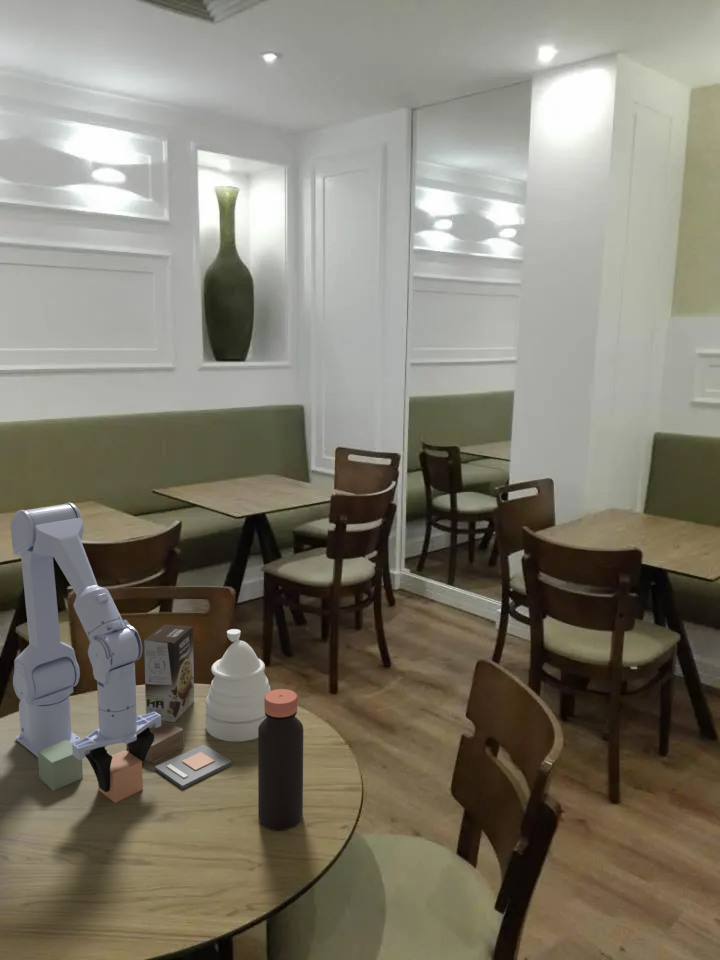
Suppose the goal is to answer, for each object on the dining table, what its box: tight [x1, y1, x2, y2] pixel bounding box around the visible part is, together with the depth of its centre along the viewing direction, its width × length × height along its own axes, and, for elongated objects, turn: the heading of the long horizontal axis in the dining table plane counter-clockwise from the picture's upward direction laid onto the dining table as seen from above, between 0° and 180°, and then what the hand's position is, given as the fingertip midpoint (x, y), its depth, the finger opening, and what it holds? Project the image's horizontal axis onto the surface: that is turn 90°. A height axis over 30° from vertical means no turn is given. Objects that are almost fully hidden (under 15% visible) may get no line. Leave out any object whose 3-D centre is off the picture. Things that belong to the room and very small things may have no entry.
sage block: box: [37, 740, 84, 791], centre depth 123 cm, size 5×5×5 cm
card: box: [154, 743, 232, 790], centre depth 128 cm, size 8×10×1 cm
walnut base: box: [126, 720, 185, 764], centre depth 133 cm, size 7×7×4 cm
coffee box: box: [143, 623, 195, 723], centre depth 146 cm, size 9×6×16 cm
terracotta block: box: [97, 749, 144, 804], centre depth 120 cm, size 5×5×5 cm
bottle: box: [257, 688, 304, 831], centre depth 113 cm, size 7×7×20 cm
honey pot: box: [204, 628, 272, 742], centre depth 141 cm, size 13×13×18 cm
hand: (120, 781), depth 121 cm, fingers closed on terracotta block, 5 cm apart
